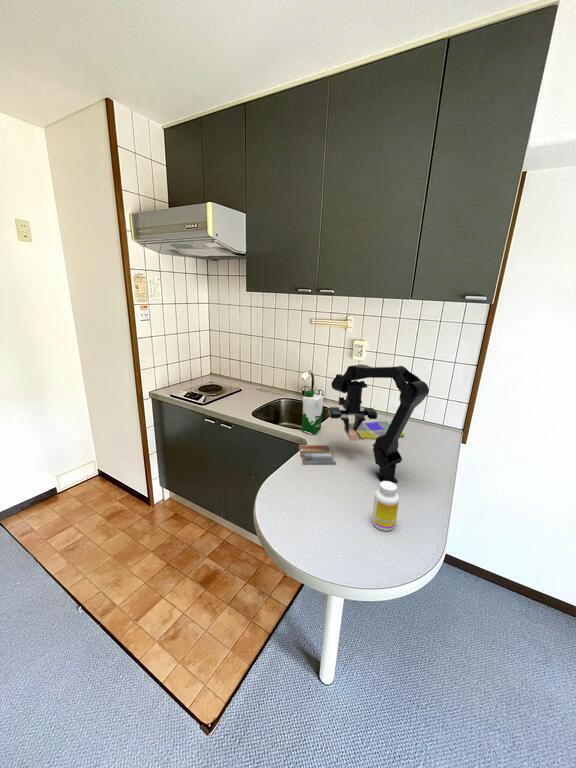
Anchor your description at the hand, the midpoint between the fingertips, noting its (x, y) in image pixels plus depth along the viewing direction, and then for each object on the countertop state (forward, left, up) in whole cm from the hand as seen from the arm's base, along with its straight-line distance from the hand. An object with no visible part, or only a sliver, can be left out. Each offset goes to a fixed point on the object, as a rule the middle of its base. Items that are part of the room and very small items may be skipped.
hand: (350, 432), depth 128 cm
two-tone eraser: (0, 0, -1) cm, 1 cm away
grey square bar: (-4, +13, -10) cm, 17 cm away
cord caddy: (0, +13, -11) cm, 17 cm away
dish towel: (+26, -20, -12) cm, 35 cm away
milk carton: (+26, +12, -11) cm, 31 cm away
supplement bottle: (-40, 0, -11) cm, 42 cm away
